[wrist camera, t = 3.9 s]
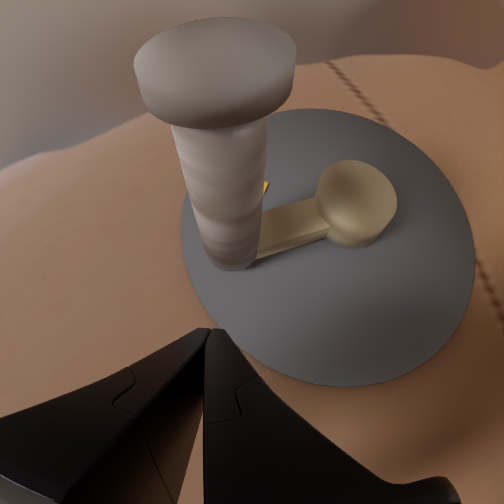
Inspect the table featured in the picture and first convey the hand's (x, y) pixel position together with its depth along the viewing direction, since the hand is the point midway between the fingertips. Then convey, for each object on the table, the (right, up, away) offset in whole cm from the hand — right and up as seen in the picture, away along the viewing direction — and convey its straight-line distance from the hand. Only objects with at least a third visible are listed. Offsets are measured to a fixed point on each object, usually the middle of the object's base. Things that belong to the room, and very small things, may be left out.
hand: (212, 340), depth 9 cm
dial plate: (+8, +5, +12) cm, 15 cm away
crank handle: (+4, +4, +10) cm, 12 cm away
